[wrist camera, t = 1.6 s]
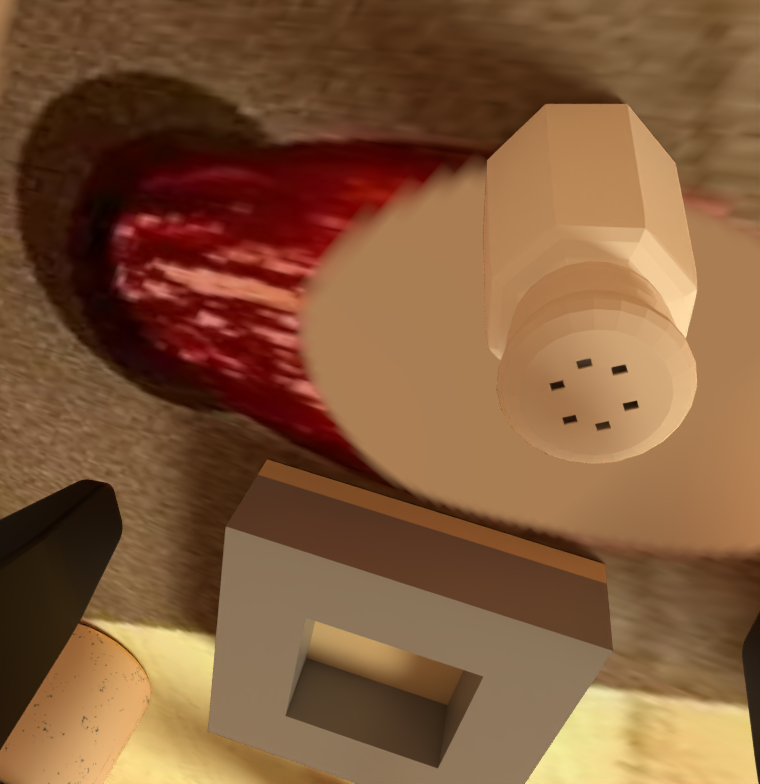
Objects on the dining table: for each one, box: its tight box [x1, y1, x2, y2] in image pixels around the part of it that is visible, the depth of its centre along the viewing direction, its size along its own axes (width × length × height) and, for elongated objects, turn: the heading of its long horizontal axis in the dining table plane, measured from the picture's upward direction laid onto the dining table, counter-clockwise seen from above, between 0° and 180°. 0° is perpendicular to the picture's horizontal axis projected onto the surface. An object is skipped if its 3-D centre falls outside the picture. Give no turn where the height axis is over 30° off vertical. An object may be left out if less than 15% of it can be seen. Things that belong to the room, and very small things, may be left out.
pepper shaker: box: [483, 104, 697, 464], centre depth 14 cm, size 5×5×11 cm
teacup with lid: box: [0, 623, 151, 784], centre depth 34 cm, size 12×9×12 cm
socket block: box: [208, 459, 613, 784], centre depth 28 cm, size 14×14×4 cm
